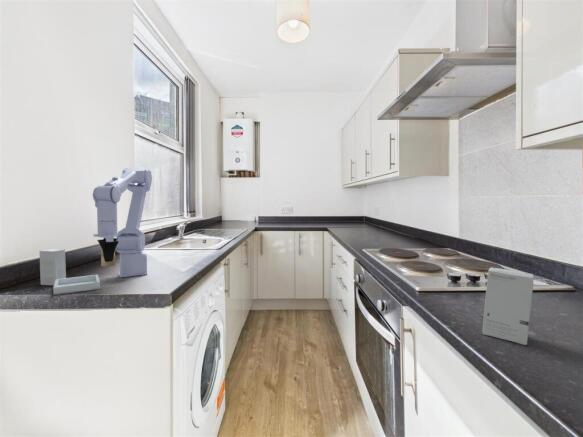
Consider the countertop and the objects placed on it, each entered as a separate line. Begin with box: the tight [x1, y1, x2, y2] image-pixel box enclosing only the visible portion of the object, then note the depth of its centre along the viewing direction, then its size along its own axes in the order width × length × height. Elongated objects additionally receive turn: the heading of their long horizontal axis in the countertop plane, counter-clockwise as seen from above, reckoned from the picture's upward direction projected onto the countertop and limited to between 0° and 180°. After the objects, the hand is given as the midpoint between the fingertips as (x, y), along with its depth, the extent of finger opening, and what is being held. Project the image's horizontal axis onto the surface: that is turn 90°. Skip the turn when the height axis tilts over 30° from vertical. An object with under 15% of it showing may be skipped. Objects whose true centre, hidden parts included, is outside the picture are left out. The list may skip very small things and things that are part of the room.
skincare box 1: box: [39, 248, 67, 286], centre depth 101 cm, size 6×4×12 cm
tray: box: [52, 274, 101, 296], centre depth 97 cm, size 12×12×2 cm
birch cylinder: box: [100, 247, 116, 267], centre depth 99 cm, size 4×4×7 cm
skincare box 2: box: [482, 267, 535, 346], centre depth 65 cm, size 8×6×15 cm
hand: (108, 260), depth 99 cm, fingers closed on birch cylinder, 4 cm apart
